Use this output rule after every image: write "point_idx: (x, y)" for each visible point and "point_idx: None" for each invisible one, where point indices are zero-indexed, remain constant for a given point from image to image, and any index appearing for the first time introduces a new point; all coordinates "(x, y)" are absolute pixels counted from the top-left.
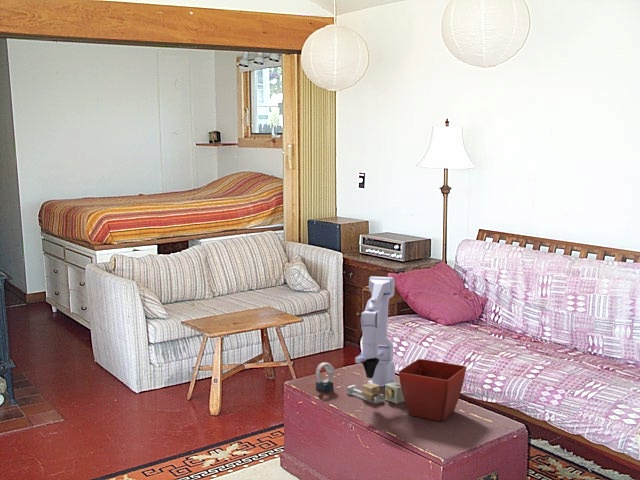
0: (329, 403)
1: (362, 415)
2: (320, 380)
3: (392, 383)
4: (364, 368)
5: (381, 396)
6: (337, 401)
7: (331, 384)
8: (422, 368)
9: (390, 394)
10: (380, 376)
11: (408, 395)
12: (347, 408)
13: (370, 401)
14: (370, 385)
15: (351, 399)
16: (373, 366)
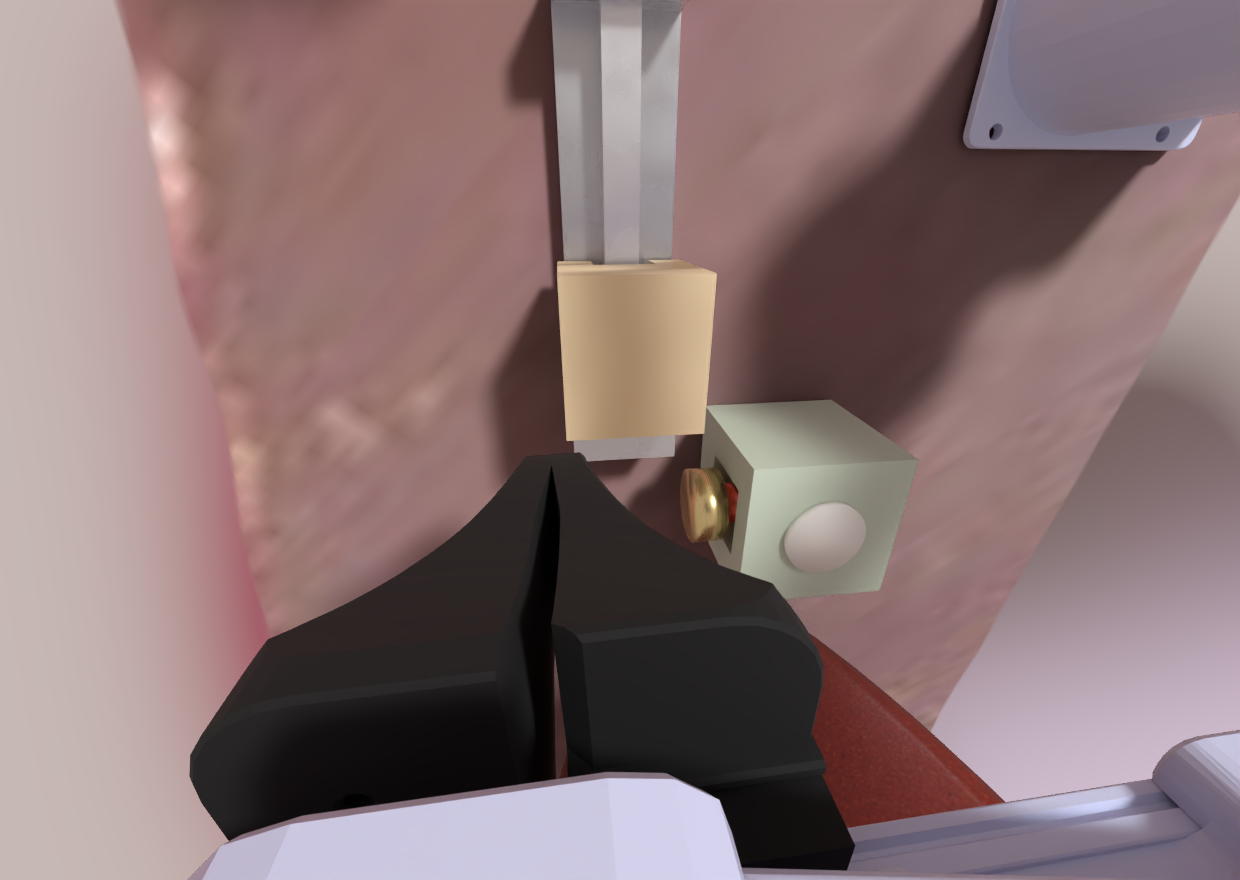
0: (154, 68)
1: (317, 524)
2: None
3: (813, 512)
4: (457, 533)
5: (643, 452)
6: (288, 95)
7: None
8: None
9: (688, 525)
10: (1110, 69)
11: None
12: (282, 337)
13: None
14: (630, 364)
15: (470, 175)
16: (554, 751)
